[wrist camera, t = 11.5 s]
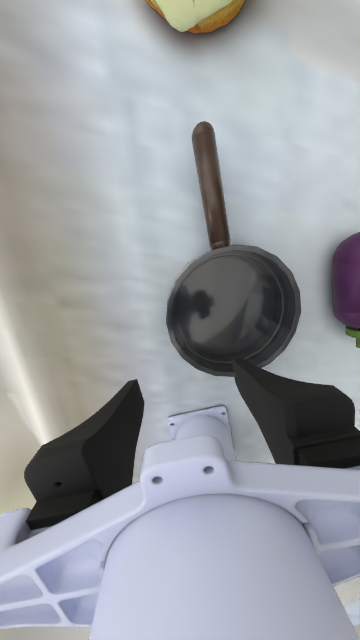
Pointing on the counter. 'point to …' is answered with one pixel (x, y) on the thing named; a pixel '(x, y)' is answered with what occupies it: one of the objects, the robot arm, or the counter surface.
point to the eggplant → (348, 285)
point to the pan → (233, 309)
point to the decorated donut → (197, 13)
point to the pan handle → (210, 184)
